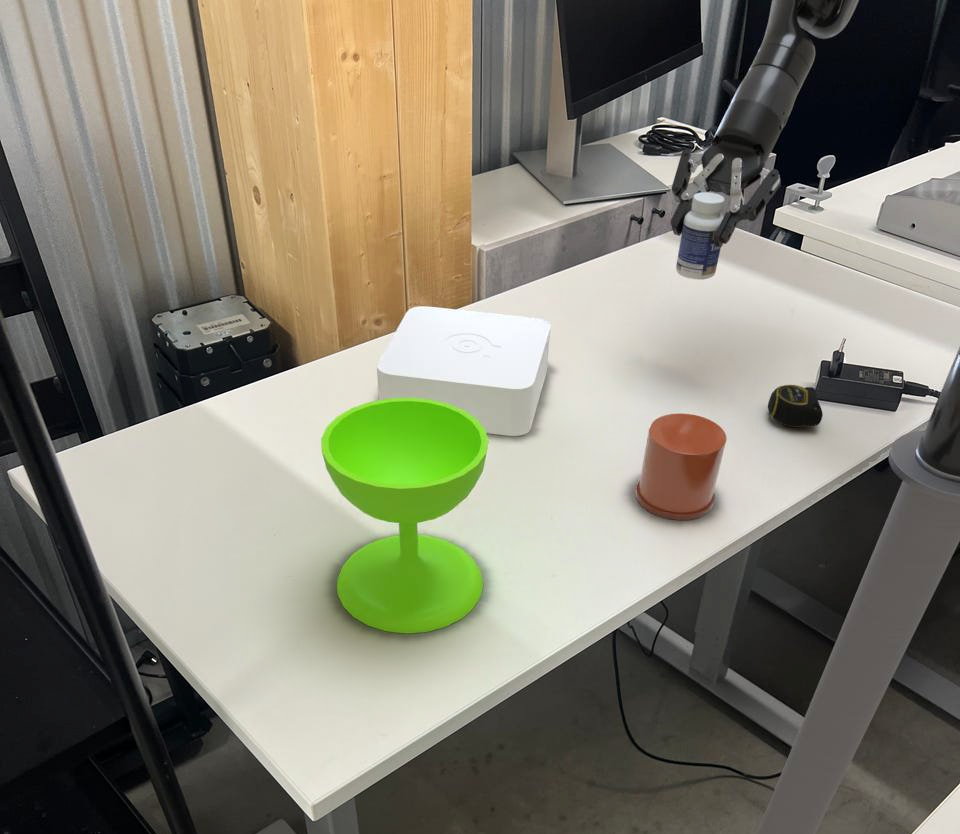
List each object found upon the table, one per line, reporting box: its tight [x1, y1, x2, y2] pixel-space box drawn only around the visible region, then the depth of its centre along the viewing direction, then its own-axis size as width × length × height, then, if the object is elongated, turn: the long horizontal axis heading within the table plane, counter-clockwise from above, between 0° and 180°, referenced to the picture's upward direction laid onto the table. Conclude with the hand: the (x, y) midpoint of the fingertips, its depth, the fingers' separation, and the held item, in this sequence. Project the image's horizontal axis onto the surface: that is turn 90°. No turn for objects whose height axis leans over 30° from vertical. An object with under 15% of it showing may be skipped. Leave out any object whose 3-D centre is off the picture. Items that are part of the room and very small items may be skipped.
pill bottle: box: [675, 192, 726, 281], centre depth 121 cm, size 5×5×10 cm
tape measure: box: [767, 384, 823, 428], centre depth 126 cm, size 7×7×4 cm
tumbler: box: [635, 412, 728, 521], centre depth 110 cm, size 10×10×9 cm
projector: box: [376, 305, 551, 437], centre depth 129 cm, size 21×22×7 cm
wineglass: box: [320, 398, 489, 634], centre depth 94 cm, size 16×16×18 cm
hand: (696, 237), depth 120 cm, fingers closed on pill bottle, 5 cm apart
